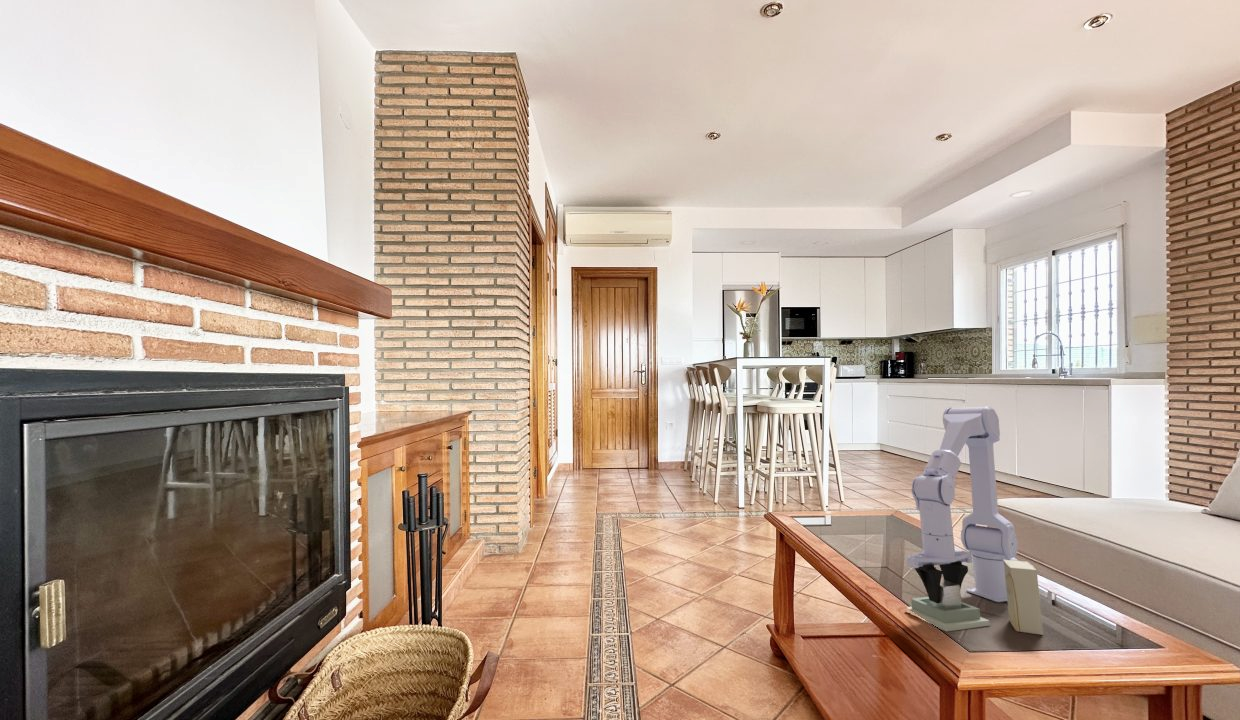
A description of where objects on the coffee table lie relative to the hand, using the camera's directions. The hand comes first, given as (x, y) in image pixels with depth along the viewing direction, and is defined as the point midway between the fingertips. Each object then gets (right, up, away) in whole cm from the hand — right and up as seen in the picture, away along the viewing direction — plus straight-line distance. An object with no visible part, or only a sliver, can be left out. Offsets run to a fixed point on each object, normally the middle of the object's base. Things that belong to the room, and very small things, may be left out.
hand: (943, 600), depth 104 cm
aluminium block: (0, -2, -1) cm, 2 cm away
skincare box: (+13, -3, -6) cm, 14 cm away
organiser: (0, -4, 0) cm, 4 cm away
